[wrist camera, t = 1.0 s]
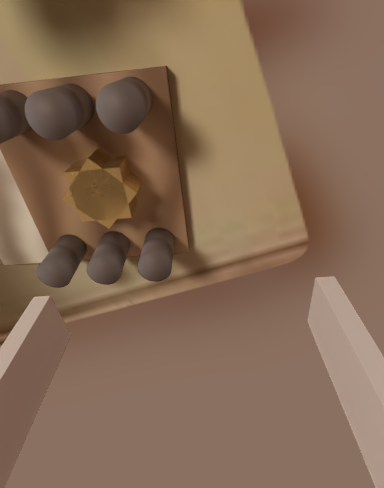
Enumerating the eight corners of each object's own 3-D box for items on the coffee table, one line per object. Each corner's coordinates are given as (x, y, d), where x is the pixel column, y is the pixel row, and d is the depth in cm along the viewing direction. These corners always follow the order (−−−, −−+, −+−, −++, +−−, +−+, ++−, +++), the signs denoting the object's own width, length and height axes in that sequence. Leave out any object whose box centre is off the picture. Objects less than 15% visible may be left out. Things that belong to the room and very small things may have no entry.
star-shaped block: (84, 216, 30) (74, 231, 27) (62, 151, 26) (47, 161, 23) (148, 211, 29) (144, 226, 27) (135, 144, 25) (128, 154, 23)
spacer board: (8, 260, 34) (-23, 295, 29) (-87, 94, 24) (-160, 105, 19) (189, 247, 33) (187, 282, 28) (166, 66, 23) (158, 70, 18)
